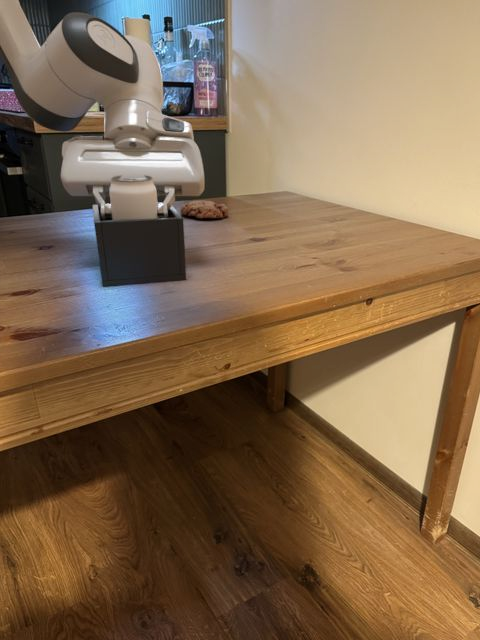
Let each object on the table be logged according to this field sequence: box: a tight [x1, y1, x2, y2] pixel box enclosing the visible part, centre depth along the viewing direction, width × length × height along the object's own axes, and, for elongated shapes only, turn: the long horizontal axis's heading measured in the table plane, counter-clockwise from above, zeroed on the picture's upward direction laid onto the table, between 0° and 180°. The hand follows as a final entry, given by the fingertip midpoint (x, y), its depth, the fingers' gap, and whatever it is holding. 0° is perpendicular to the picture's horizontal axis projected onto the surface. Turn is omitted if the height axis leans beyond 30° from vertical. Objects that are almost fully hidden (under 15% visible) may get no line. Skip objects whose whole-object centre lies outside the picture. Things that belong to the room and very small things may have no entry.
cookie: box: [179, 199, 229, 219], centre depth 108 cm, size 10×11×3 cm
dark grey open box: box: [91, 201, 187, 287], centre depth 73 cm, size 12×12×9 cm
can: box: [109, 175, 158, 220], centre depth 72 cm, size 6×6×12 cm
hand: (135, 218), depth 71 cm, fingers closed on can, 6 cm apart
